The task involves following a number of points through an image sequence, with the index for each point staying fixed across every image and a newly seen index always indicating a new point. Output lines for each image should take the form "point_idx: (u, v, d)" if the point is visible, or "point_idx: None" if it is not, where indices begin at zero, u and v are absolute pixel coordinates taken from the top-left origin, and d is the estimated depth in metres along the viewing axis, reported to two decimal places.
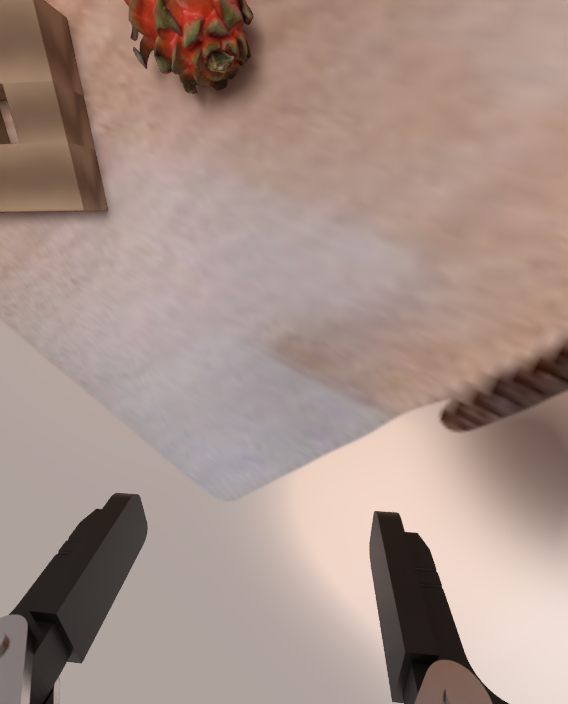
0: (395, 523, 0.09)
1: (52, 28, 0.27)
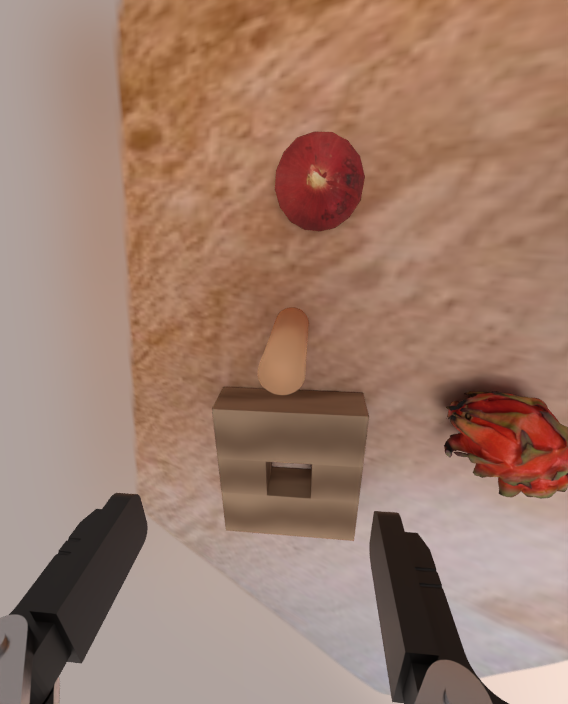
0: (395, 523, 0.09)
1: None
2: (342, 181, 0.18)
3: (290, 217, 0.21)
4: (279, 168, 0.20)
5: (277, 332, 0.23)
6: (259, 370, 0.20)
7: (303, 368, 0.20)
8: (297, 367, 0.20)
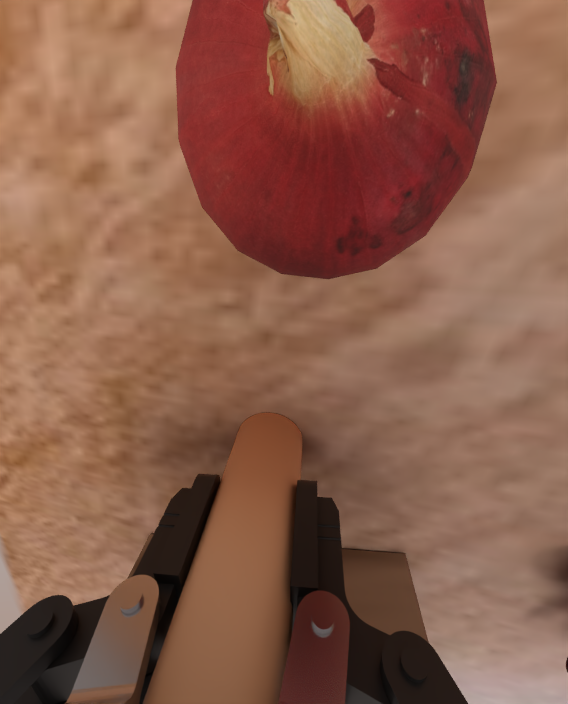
0: (311, 489, 0.11)
1: None
2: (443, 82, 0.04)
3: (233, 241, 0.07)
4: (177, 63, 0.05)
5: (214, 546, 0.09)
6: None
7: None
8: None
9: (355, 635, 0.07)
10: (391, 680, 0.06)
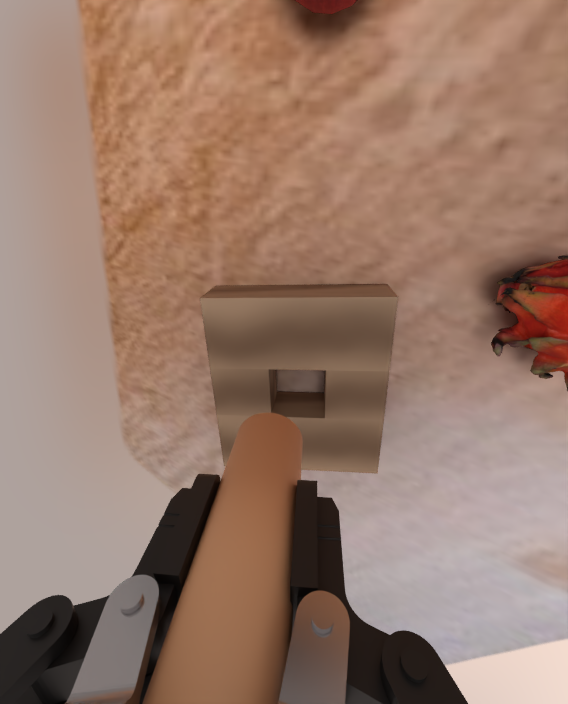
0: (311, 489, 0.11)
1: None
2: None
3: None
4: None
5: (214, 545, 0.09)
6: None
7: None
8: None
9: (355, 635, 0.07)
10: (391, 680, 0.06)
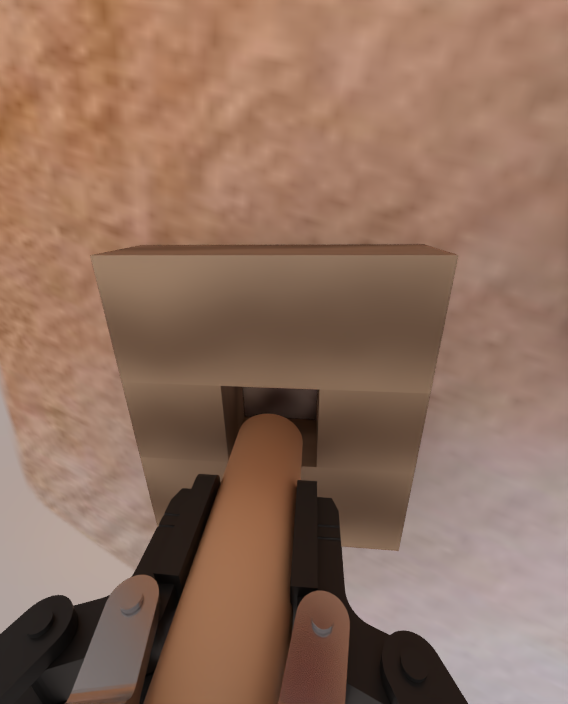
0: (311, 489, 0.11)
1: None
2: None
3: None
4: None
5: (215, 547, 0.09)
6: None
7: None
8: None
9: (355, 635, 0.07)
10: (391, 680, 0.06)
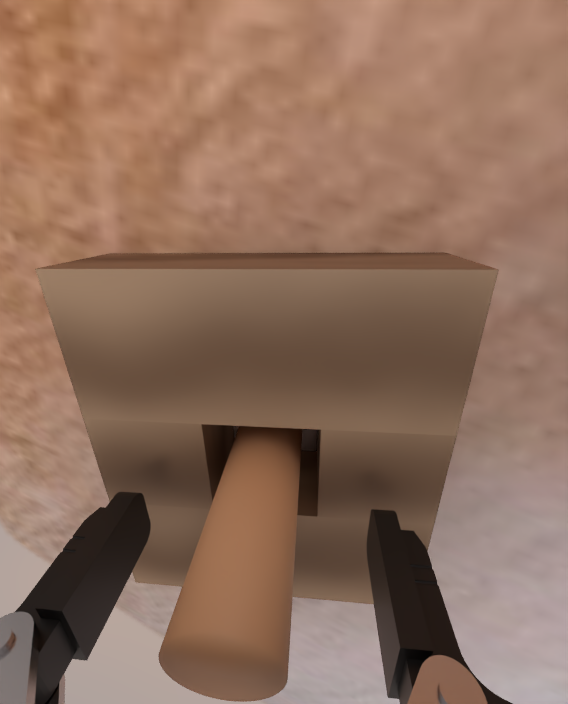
0: (392, 521, 0.09)
1: None
2: None
3: None
4: None
5: (231, 488, 0.10)
6: (163, 657, 0.07)
7: (283, 661, 0.07)
8: (266, 662, 0.07)
9: None
10: None
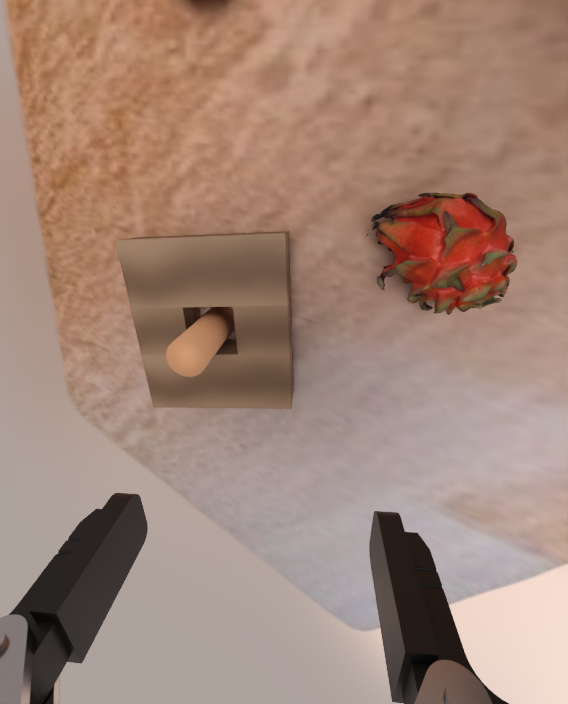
0: (395, 523, 0.09)
1: (287, 253, 0.27)
2: None
3: None
4: None
5: (193, 324, 0.26)
6: (167, 355, 0.23)
7: (204, 352, 0.23)
8: (199, 351, 0.23)
9: None
10: None
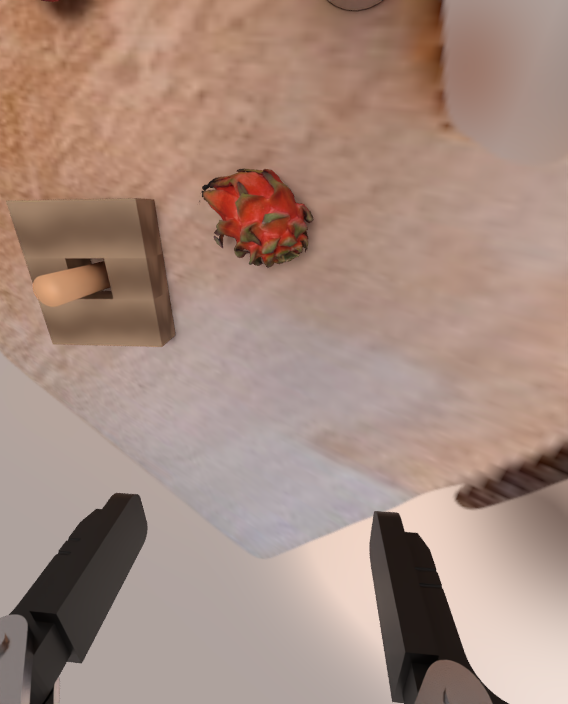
0: (395, 523, 0.09)
1: (146, 216, 0.34)
2: None
3: None
4: None
5: None
6: (34, 288, 0.30)
7: (61, 286, 0.30)
8: (56, 286, 0.30)
9: None
10: None
